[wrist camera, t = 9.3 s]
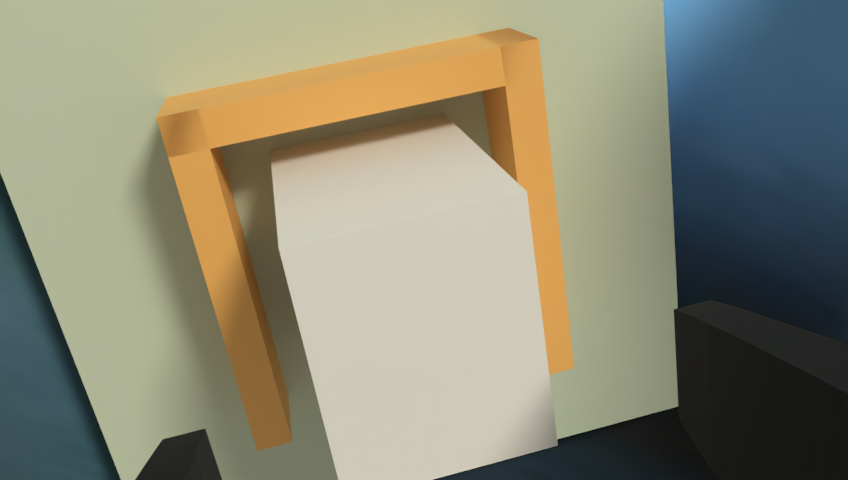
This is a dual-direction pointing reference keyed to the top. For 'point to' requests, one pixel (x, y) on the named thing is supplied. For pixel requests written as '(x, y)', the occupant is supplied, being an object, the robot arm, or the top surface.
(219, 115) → the deck
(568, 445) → the top surface
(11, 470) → the top surface
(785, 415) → the robot arm
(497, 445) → the chute block
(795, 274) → the top surface
